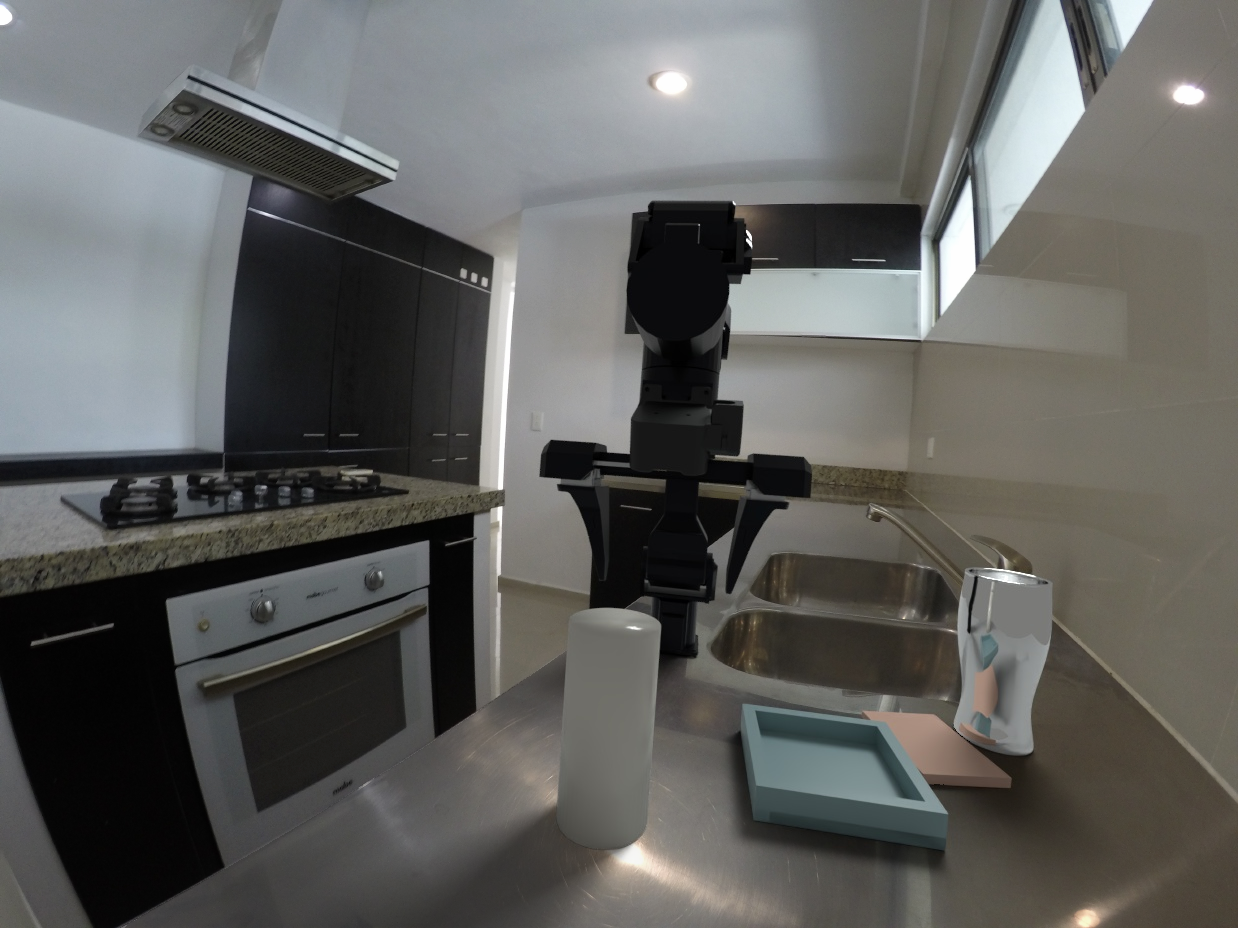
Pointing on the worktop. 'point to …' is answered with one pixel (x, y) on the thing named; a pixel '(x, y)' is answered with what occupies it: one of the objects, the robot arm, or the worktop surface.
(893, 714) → the plate
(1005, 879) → the worktop surface
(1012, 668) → the beer glass
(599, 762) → the frosted white cylinder
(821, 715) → the tray
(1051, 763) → the worktop surface
